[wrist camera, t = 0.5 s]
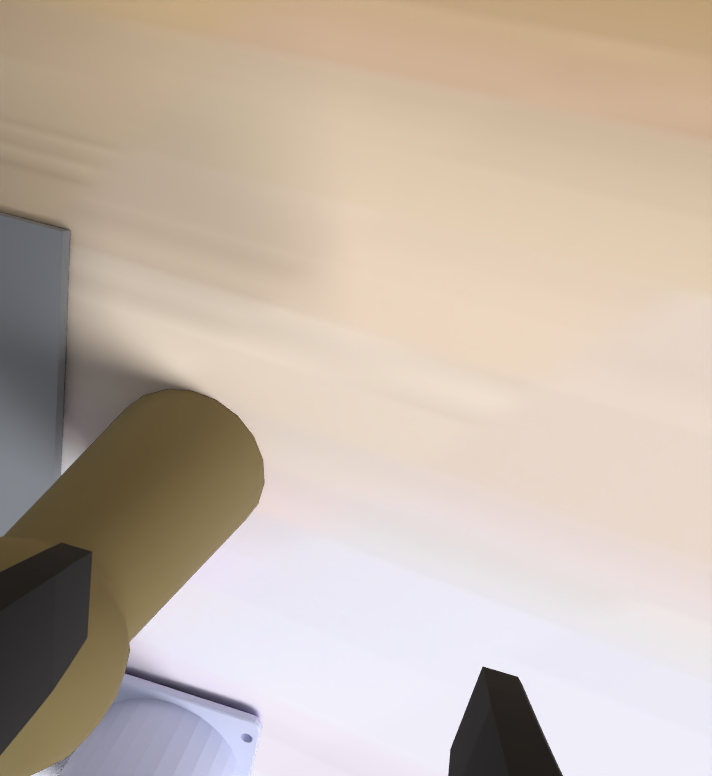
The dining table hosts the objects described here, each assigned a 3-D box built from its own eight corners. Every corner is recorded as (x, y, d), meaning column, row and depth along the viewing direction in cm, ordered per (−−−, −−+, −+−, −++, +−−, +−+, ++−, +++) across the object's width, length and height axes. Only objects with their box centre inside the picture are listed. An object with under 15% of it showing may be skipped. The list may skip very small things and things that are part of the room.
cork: (81, 425, 22) (-257, 643, 11) (211, 362, 20) (-51, 553, 10) (165, 553, 23) (-69, 851, 13) (293, 505, 21) (142, 805, 11)
